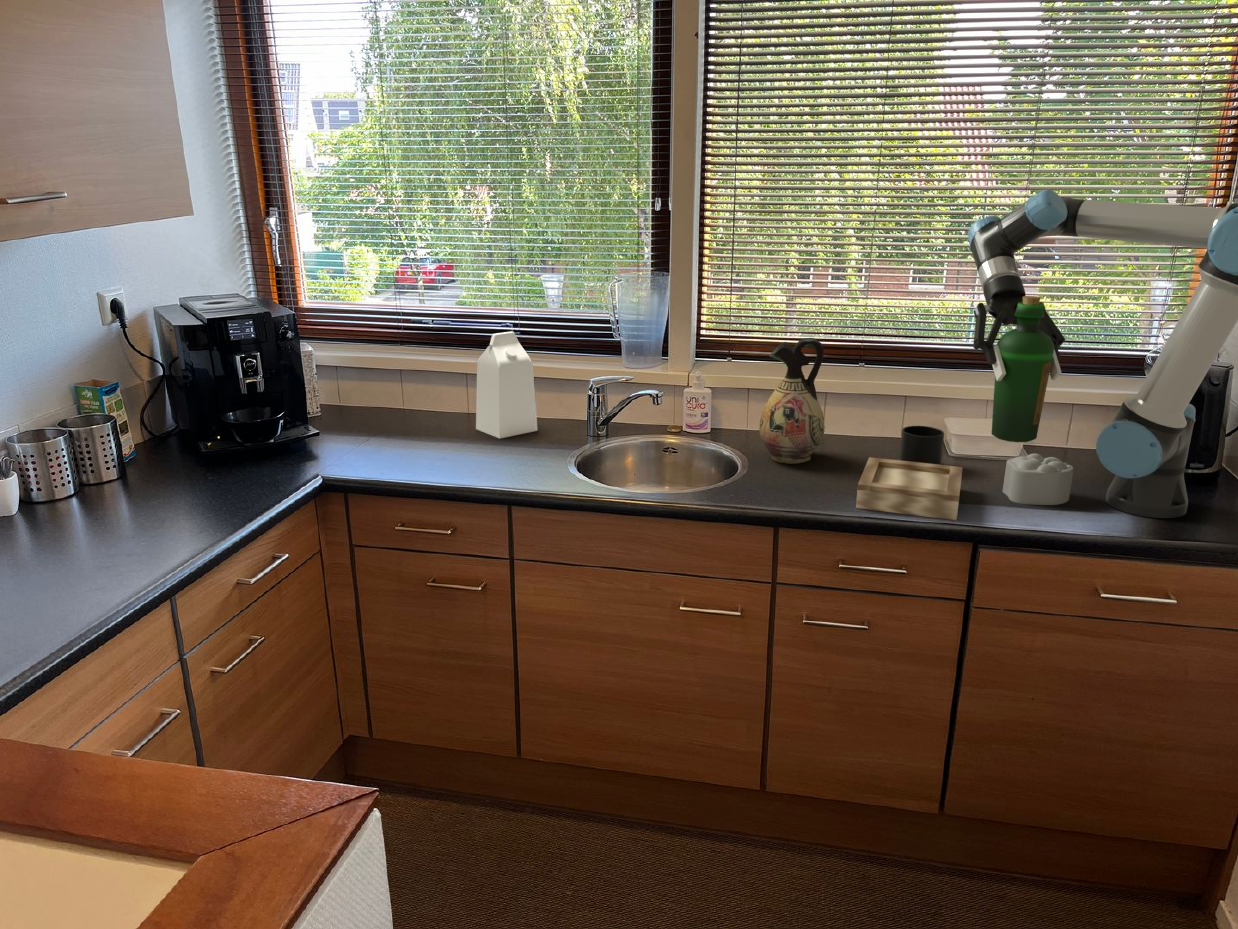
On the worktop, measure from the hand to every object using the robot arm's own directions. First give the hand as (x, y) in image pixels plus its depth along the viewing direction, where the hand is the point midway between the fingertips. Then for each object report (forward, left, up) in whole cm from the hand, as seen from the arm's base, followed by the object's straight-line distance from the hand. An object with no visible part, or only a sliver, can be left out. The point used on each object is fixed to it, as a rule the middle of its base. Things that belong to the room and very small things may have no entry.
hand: (1029, 376), depth 186 cm
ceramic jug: (+49, -24, -30) cm, 62 cm away
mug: (+20, -30, -30) cm, 47 cm away
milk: (+125, -23, -30) cm, 131 cm away
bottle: (+1, -3, -13) cm, 14 cm away
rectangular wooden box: (+20, -6, -30) cm, 36 cm away
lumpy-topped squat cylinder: (-6, -17, -30) cm, 35 cm away
